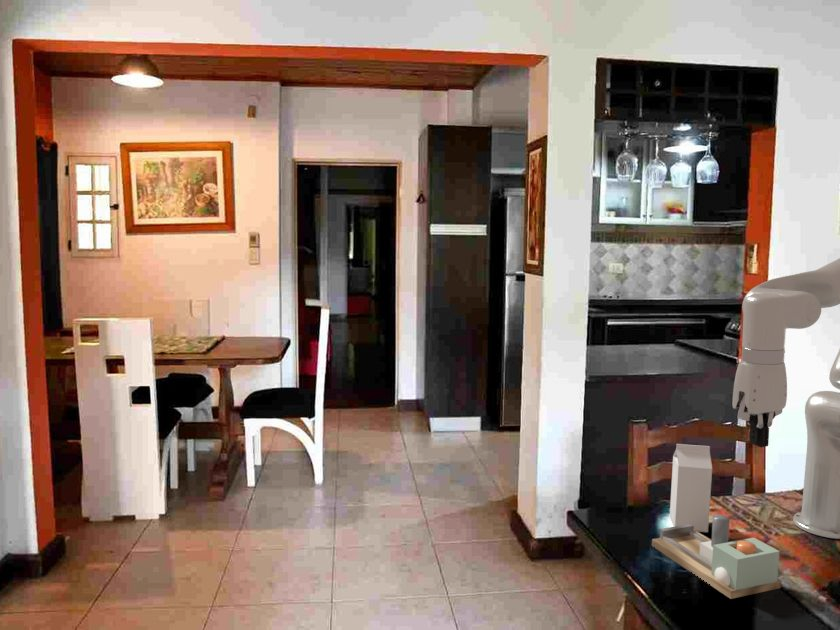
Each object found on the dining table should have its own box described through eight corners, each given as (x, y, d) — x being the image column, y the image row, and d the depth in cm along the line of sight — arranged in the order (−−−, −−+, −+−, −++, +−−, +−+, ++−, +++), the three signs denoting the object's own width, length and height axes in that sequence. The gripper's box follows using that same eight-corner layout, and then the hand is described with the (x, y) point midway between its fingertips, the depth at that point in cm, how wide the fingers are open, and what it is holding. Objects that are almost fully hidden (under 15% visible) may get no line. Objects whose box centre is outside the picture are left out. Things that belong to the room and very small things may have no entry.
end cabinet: (751, 573, 131) (753, 537, 130) (776, 588, 126) (779, 551, 125) (709, 582, 128) (711, 545, 127) (733, 598, 122) (736, 559, 121)
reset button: (745, 554, 128) (746, 539, 128) (758, 562, 125) (759, 547, 125) (732, 556, 127) (733, 542, 127) (745, 564, 124) (746, 549, 124)
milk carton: (708, 533, 149) (713, 451, 147) (674, 530, 150) (679, 448, 148) (701, 519, 156) (706, 441, 154) (669, 517, 157) (674, 439, 155)
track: (696, 537, 146) (697, 522, 146) (780, 588, 126) (781, 570, 125) (651, 545, 142) (652, 530, 142) (730, 598, 122) (731, 581, 121)
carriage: (718, 553, 136) (721, 511, 135) (737, 564, 131) (741, 521, 130) (699, 556, 134) (701, 514, 133) (717, 568, 129) (720, 524, 128)
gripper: (774, 349, 138) (770, 434, 141) (718, 356, 133) (715, 444, 135) (807, 355, 131) (802, 445, 134) (749, 363, 126) (745, 456, 128)
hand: (758, 444), depth 135 cm, fingers closed
